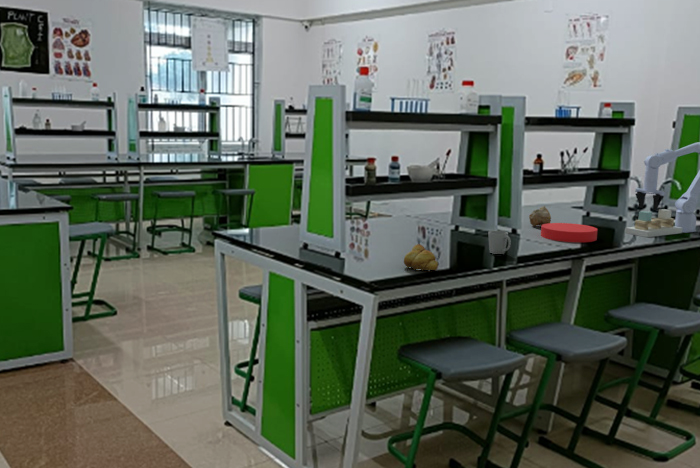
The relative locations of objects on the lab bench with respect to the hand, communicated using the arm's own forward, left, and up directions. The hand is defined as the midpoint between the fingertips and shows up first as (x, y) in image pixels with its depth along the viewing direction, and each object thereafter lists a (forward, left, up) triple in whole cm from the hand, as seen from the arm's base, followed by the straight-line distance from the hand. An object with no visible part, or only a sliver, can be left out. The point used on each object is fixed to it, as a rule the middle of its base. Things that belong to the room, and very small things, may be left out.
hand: (648, 208), depth 321 cm
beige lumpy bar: (+4, +7, -8) cm, 11 cm away
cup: (+106, +11, -11) cm, 107 cm away
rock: (+41, -30, -11) cm, 52 cm away
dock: (+4, +7, -10) cm, 13 cm away
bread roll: (+149, +18, -11) cm, 151 cm away
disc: (+51, -3, -11) cm, 52 cm away
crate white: (-3, +7, -4) cm, 9 cm away
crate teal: (+12, +7, -4) cm, 14 cm away
